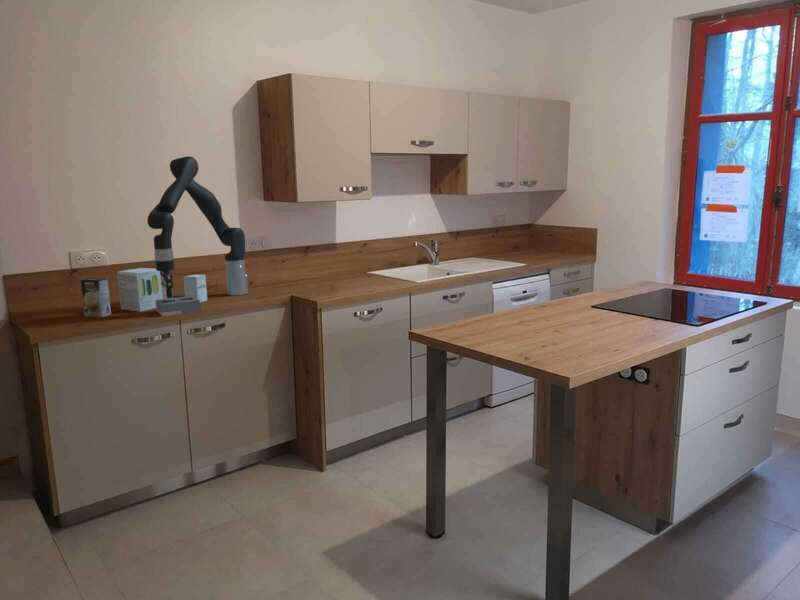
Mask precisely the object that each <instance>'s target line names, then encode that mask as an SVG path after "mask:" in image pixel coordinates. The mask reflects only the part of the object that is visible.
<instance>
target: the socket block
mask: <svg viewBox="0 0 800 600" xmlns="http://www.w3.org/2000/svg"><path fill="white" fill-rule="evenodd" d="M155 309H156V312H157V313H158V314H159V315H160V316H161V317H168V316H175V315H176V316H177V315H184V314H192V313H193V314H194V313H200V312H202V309H201V302H200V300H199V299H197V298H195V297H194V296H187V297H185V296H181V297H179V296H178V297H173V302H166V303H164V302H163V299H160V300H156V308H155Z"/></svg>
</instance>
